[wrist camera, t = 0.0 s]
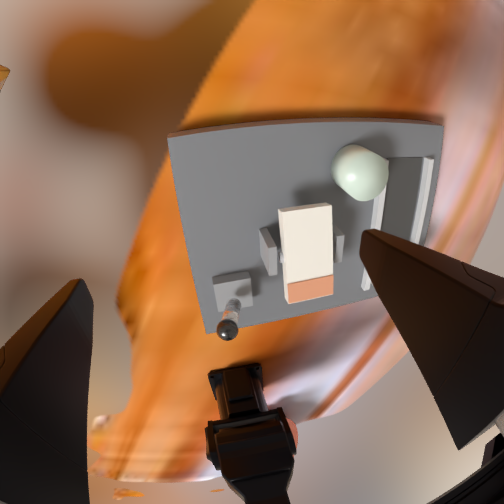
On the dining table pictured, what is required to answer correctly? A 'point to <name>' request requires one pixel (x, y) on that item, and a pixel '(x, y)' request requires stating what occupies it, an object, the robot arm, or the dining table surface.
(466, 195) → the dining table surface
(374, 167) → the push button
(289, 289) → the rocker switch
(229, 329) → the toggle lever
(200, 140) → the switch panel
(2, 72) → the candy box
